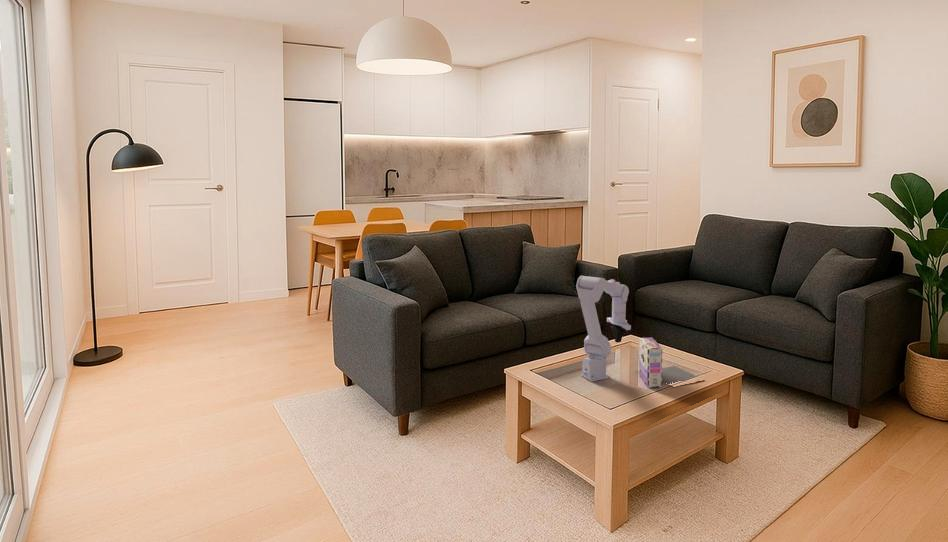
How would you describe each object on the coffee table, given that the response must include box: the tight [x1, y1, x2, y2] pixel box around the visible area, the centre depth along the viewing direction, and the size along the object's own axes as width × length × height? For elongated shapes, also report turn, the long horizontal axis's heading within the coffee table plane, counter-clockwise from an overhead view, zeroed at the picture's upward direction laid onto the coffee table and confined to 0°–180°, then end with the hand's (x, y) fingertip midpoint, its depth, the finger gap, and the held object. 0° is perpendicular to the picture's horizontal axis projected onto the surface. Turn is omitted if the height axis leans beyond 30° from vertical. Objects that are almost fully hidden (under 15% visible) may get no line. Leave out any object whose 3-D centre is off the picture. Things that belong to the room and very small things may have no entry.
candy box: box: [638, 336, 663, 389], centre depth 242 cm, size 14×6×16 cm, turn 179°
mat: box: [662, 365, 699, 385], centre depth 248 cm, size 16×18×1 cm
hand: (618, 341), depth 261 cm, fingers closed
